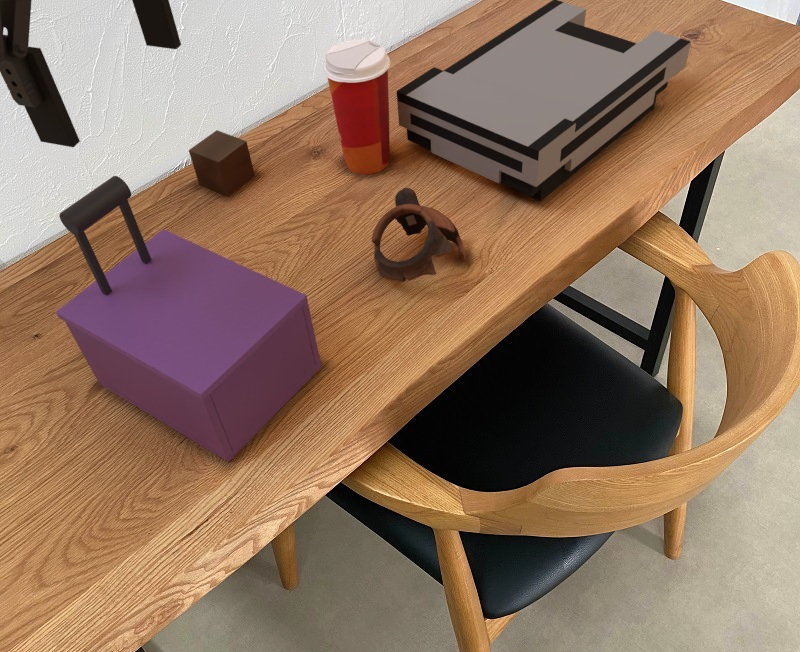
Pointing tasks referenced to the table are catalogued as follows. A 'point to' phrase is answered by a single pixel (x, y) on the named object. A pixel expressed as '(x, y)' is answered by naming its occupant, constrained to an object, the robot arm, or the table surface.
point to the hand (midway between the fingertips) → (115, 90)
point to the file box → (231, 401)
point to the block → (222, 163)
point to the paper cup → (360, 102)
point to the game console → (539, 98)
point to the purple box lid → (173, 300)
